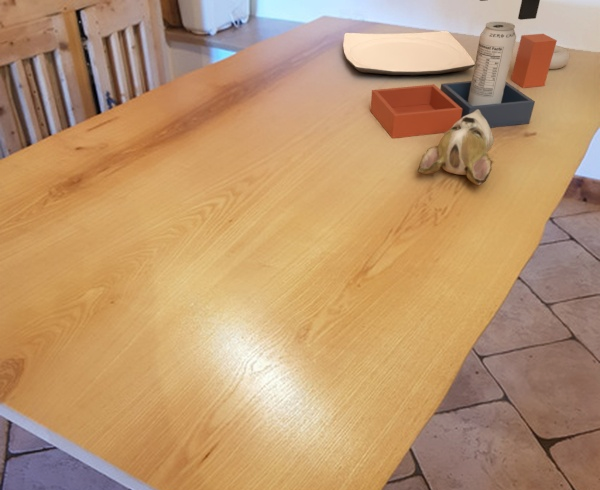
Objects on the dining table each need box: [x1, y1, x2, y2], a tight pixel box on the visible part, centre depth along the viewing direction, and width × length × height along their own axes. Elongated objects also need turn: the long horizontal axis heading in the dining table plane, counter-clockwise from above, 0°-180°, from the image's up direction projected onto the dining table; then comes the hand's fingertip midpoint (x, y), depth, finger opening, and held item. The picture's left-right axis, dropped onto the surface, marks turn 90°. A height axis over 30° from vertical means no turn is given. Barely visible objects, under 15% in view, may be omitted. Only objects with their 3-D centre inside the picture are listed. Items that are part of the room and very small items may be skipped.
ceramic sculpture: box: [417, 109, 495, 186], centre depth 85 cm, size 11×9×15 cm
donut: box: [549, 44, 571, 70], centre depth 125 cm, size 10×4×10 cm
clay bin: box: [370, 83, 462, 139], centre depth 101 cm, size 13×13×4 cm
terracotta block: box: [510, 33, 558, 89], centre depth 114 cm, size 5×5×9 cm
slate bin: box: [439, 80, 536, 129], centre depth 103 cm, size 13×13×4 cm
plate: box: [342, 30, 475, 76], centre depth 129 cm, size 29×29×3 cm
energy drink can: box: [468, 21, 517, 106], centre depth 99 cm, size 6×6×15 cm
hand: (505, 9), depth 93 cm, fingers open, 13 cm apart
